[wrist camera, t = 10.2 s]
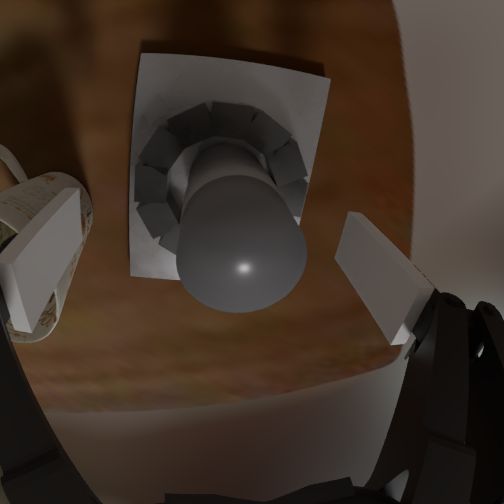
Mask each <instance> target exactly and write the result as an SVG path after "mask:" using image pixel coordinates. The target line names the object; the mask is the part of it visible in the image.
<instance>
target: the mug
mask: <svg viewBox="0 0 504 504" xmlns="http://www.w3.org/2000/svg"><path fill="white" fill-rule="evenodd" d="M0 159H1V160H2V161H4V162H5V164H6V165H7V166H8V167H9V169H10V170H11V172H12V173H13V175H14V176H15V177H16V179H17V180H18V181H19V182H20V184H18V185H15V186H13V187H11V188H8V189H6V190H4V191H1V192H0V247H1V245H2V244H3V242H4V241H5V240H6V239H7V238H9V237H11V236H12V235H14V234H16V233H20V232H21V230H22V229H23V228H24V227H25V226H26V225H27V224H28V223H29V222H30V221H31V220H32V219H33V218H34V217H35V216H36V215H37V214H38V213H39V212H40V211H41V210H42V209H43V208H44V207H45V206H46V205H47V204H48V203H49V202H50V201H51V200H52V199H53V198H55V197H56V196H57V195H58V194H59V193H60V192H61V191H62V190H63V189H64V188H79V192H80V212H81V227H82V239H83V241H82V243H81V244H80V246H79V248H78V249H77V251H76V253H75V254H74V256H73V258H72V259H71V261H70V263H69V264H68V266H67V268H66V270H65V271H64V273H63V275H62V277H61V278H60V280H59V282H58V284H57V286H56V287H55V289H54V291H53V293H52V295H51V297H50V299H49V300H48V302H47V304H46V306H45V308H44V310H43V312H42V314H41V316H40V318H39V320H38V322H37V324H36V326H35V328H34V330H33V332H32V333H28V332H22V331H17V330H15V329H14V327H13V324H12V321H11V318H9V320H8V322H7V324H6V327H7V330H8V332H9V335H10V338H11V341H13V342H18V343H32V342H36V341H39V340H42V339H43V338H45V337H46V336H48V335H49V334H50V333H51V331H52V330H53V329H54V327H55V326H56V324H57V322H58V320H59V317H60V314H61V311H62V308H63V305H64V302H65V298H66V295H67V292H68V289H69V286H70V283H71V280H72V277H73V274H74V271H75V268H76V265H77V262H78V260H79V257H80V254H81V251H82V249H83V246H84V243H85V241H86V238H87V236H88V233H89V231H90V228H91V225H92V220H93V207H92V202H91V199H90V197H89V194H88V193H87V191H86V189H85V188H84V187H83V185H82V184H81V183H80V182H79V181H78V180H77V179H75V178H74V177H72V176H70V175H68V174H66V173H62V172H49V173H45V174H43V175H40V176H37V177H35V178H32V179H30V180H28V179H27V176H26V174H25V172H24V171H23V169H22V167H21V166H20V164H19V162H18V161H17V159H16V158H15V156H14V155H13V154H12V153H11V151H9V150H8V149H7V148H6V147H4V146H3V145H1V144H0Z"/></svg>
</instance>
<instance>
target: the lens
mask: <svg viewBox="0 0 504 504" xmlns="http://www.w3.org/2000/svg"><path fill="white" fill-rule="evenodd" d="M306 260H307V245H306V241H305V237H304V235H303V233H302V230H301V229H300V227H299V225H298V224H297V222H296V220H295V219H294V217H293V215H292V214H291V212H290V210H289V209H288V206H287V204H286V202H285V200H284V198H283V197H282V195H281V193H280V192H279V190H278V188H277V187H276V185H275V184H274V182H273V181H272V179H271V177H270V176H269V175H268V173H267V172H266V171H265V169H264V168H263V166H262V165H261V163H260V161H259V160H258V159H257V157H256V156H255V155H254V154H253V153H252V152H250V151H249V150H247V149H245V148H243V147H241V146H238V145H233V144H222V145H217V146H214V147H212V148H209V149H207V150H206V151H204V152H203V153H202V154H201V155H200V156H199V157H198V158H197V159H196V160H195V162H194V163H193V165H192V167H191V170H190V173H189V178H188V184H187V188H186V191H185V195H184V201H183V207H182V212H181V219H180V232H179V239H178V245H177V253H176V267H177V272H178V275H179V278H180V280H181V282H182V284H183V286H184V287H185V289H186V290H187V291H188V292H189V293H190V294H191V295H192V296H193V297H194V298H195V299H196V300H198V301H199V302H201V303H202V304H204V305H206V306H208V307H210V308H213V309H216V310H219V311H224V312H231V313H244V312H252V311H256V310H260V309H263V308H266V307H268V306H270V305H272V304H274V303H276V302H278V301H279V300H281V299H282V298H283V297H285V296H286V295H287V294H288V293H289V292H290V291H291V290H292V289H293V288H294V287H295V285H296V284H297V283H298V281H299V279H300V278H301V276H302V274H303V271H304V268H305V265H306Z"/></svg>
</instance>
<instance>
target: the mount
mask: <svg viewBox="0 0 504 504" xmlns="http://www.w3.org/2000/svg"><path fill="white" fill-rule="evenodd" d="M330 81H331V79H329V78H325V77H321V76H317V75H313V74H308V73H304V72H300V71H295V70H290V69H285V68H280V67H275V66H270V65H264V64H258V63H252V62H246V61H239V60H231V59H223V58H214V57H205V56H193V55H179V54H159V53H141V58H140V65H139V72H138V80H137V88H136V97H135V107H134V117H133V130H132V144H131V162H130V192H129V240H130V270H131V276H137V277H148V278H160V279H172V280H180V278H179V275H178V272H177V267H176V253H177V245H178V239H179V232H180V219H181V212H182V207H183V201H184V195H185V191H186V188H187V184H188V178H189V173H190V170H191V167H192V165H193V163H194V162H195V160H196V159H197V158H198V157H199V156H200V155H201V154H202V153H203V152H204V151H206V150H207V149H209V148H212V147H214V146H217V145H222V144H233V145H238V146H241V147H243V148H245V149H247V150H249V151H250V152H252V153H253V154H254V155H255V156H256V157H257V159H258V160H259V161H260V163H261V165H262V166H263V168H264V169H265V171H266V172H267V173H268V175H269V176H270V177H271V179H272V181H273V182H274V184H275V185H276V187H277V188H278V190H279V192H280V193H281V195H282V197H283V198H284V200H285V202H286V204H287V206H288V209H289V210H290V212H291V214H292V215H293V217H294V219H295V220H296V222H297V224H298V225H299V223H300V219H301V215H302V211H303V206H304V202H305V198H306V193H307V189H308V185H309V180H310V176H311V172H312V167H313V163H314V158H315V154H316V149H317V144H318V140H319V135H320V130H321V126H322V121H323V116H324V111H325V106H326V101H327V96H328V91H329V86H330Z"/></svg>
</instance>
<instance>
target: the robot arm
mask: <svg viewBox="0 0 504 504" xmlns="http://www.w3.org/2000/svg"><path fill="white" fill-rule="evenodd" d="M82 241H83V239H82V227H81V212H80V192H79V188H64V189H63V190H62V191H61V192H60V193H59V194H58V195H57V196H56V197H55V198H53V199H52V200H51V201H50V202H49V203H48V204H47V205H46V206H45V207H44V208H43V209H42V210H41V211H40V212H39V213H38V214H37V215H36V216H35V217H34V218H33V219H32V220H31V221H30V222H29V223H28V224H27V225H26V226H25V227H24V228H23V229H22V230H21V232H20V233H16V234H14V235H12V236H11V237H9V238H7V239H6V240H5V241H4V242H3V244H2V245H1V247H0V466H1V468H2V471H3V476H2V477H1V484H2V487H3V489H4V492H5V494H6V496H7V498H8V500H9V502H10V504H103V503H102V502H101V501H100V500H99V499H98V497H97V496H96V495H95V494H94V492H93V491H92V490H91V488H90V487H89V486H88V484H87V483H86V481H85V480H84V479H83V477H82V476H81V474H80V473H79V471H78V470H77V469H76V467H75V466H74V464H73V462H72V461H71V459H70V458H69V456H68V455H67V453H66V451H65V450H64V448H63V447H62V445H61V443H60V442H59V440H58V438H57V437H56V435H55V433H54V431H53V430H52V428H51V426H50V424H49V422H48V421H47V419H46V417H45V415H44V413H43V411H42V409H41V407H40V405H39V403H38V401H37V399H36V397H35V395H34V393H33V391H32V389H31V387H30V384H29V382H28V380H27V378H26V376H25V373H24V371H23V369H22V366H21V364H20V361H19V359H18V356H17V354H16V351H15V349H14V346H13V343H12V341H11V338H10V335H9V332H8V330H7V327H6V324H7V322H8V320H9V318H11V321H12V324H13V327H14V329H15V330H17V331H22V332H28V333H32V332H33V330H34V328H35V326H36V324H37V322H38V320H39V318H40V316H41V314H42V312H43V310H44V308H45V306H46V304H47V302H48V300H49V299H50V297H51V295H52V293H53V291H54V289H55V287H56V286H57V284H58V282H59V280H60V278H61V277H62V275H63V273H64V271H65V270H66V268H67V266H68V264H69V263H70V261H71V259H72V258H73V256H74V254H75V253H76V251H77V249H78V248H79V246H80V244H81V243H82ZM335 260H336V261H337V263H338V264H339V266H340V267H341V269H342V270H343V272H344V273H345V275H346V276H347V278H348V279H349V281H350V282H351V284H352V285H353V287H354V288H355V290H356V291H357V293H358V294H359V296H360V297H361V299H362V300H363V302H364V303H365V305H366V307H367V308H368V310H369V311H370V313H371V314H372V316H373V318H374V319H375V321H376V322H377V324H378V325H379V327H380V329H381V330H382V332H383V333H384V335H385V337H386V338H387V340H388V342H389V343H390V345H396V344H405V343H406V341H407V339H408V338H409V335H410V334H411V332H413V334H414V335H415V337H416V339H415V341H414V343H413V344H412V346H411V348H410V349H409V351H408V352H407V354H406V356H405V357H404V359H407V357H409V360H408V364H407V368H406V372H405V376H404V380H403V384H402V388H401V391H400V395H399V398H398V402H397V405H396V408H395V412H394V415H393V418H392V421H391V424H390V428H389V430H388V433H387V436H386V439H385V442H384V445H383V448H382V450H381V453H380V455H379V458H378V461H377V464H376V466H375V468H374V471H373V473H372V475H371V477H370V479H369V481H368V482H367V483H366V484H365V486H364V487H359V486H353V485H352V482H351V479H350V477H346V478H342V479H338V480H333V481H328V482H324V483H318V484H313V485H309V486H306V487H304V488H301V489H299V490H297V491H294V492H292V493H289V494H287V495H284V496H281V497H279V498H276V499H273V500H271V501H267V502H259V501H251V500H244V499H237V498H231V497H226V496H220V495H215V494H205V495H204V494H166V493H165V502H163V503H157V504H504V320H503V318H502V316H501V314H500V312H499V311H498V310H497V309H496V308H495V306H494V305H492V304H490V303H487V302H484V301H480V302H479V303H478V304H477V306H476V308H475V310H469V309H466V306H465V304H464V303H463V301H462V300H461V299H459V298H458V297H457V296H455V295H453V294H450V293H446V292H443V293H440V292H439V291H438V290H437V289H436V288H435V287H434V285H432V283H431V282H430V281H429V280H428V279H426V277H425V276H424V275H423V274H422V273H421V272H420V270H419V269H418V268H416V266H415V265H413V264H412V263H411V262H410V261H409V260H408V259H407V258H406V257H405V256H404V255H403V254H402V253H401V251H400V250H399V249H398V248H397V247H396V246H395V245H394V244H393V243H392V242H391V241H390V240H389V239H388V238H387V237H386V236H385V235H384V234H382V233H381V232H380V231H379V230H378V229H377V228H376V227H375V226H374V225H373V224H372V223H371V222H370V221H369V220H368V219H367V218H366V217H365V216H364V215H363V214H362V213H356V212H348V215H347V219H346V222H345V226H344V229H343V232H342V236H341V239H340V242H339V245H338V249H337V252H336V255H335ZM483 346H484V348H483ZM482 348H483V352H482V354H481V356H480V357H478V353H479V352H480V350H481V349H482Z"/></svg>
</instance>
